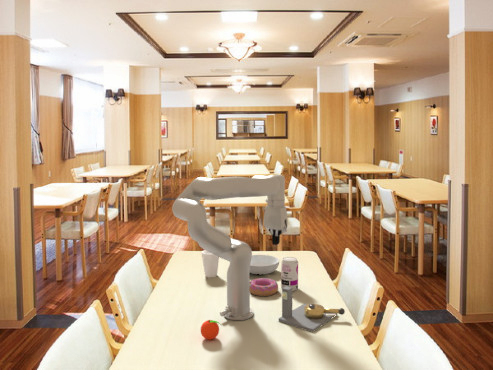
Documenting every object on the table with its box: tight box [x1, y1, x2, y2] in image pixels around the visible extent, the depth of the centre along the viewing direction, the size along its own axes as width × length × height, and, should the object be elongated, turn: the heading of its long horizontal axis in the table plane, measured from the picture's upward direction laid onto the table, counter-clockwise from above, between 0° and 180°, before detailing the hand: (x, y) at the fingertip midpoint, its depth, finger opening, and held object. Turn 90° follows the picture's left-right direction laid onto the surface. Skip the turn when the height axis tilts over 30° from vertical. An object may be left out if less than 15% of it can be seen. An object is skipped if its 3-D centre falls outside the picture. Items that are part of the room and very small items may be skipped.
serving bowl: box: [250, 254, 280, 276], centre depth 244 cm, size 21×21×7 cm
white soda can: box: [280, 256, 299, 292], centre depth 218 cm, size 8×8×15 cm
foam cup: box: [201, 249, 220, 278], centre depth 238 cm, size 10×9×13 cm
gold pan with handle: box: [304, 303, 346, 319], centre depth 184 cm, size 16×8×4 cm, turn 84°
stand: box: [278, 286, 338, 332], centre depth 183 cm, size 20×17×13 cm
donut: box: [250, 277, 279, 297], centre depth 215 cm, size 14×14×5 cm
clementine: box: [200, 319, 222, 341], centre depth 166 cm, size 8×7×7 cm
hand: (275, 244), depth 197 cm, fingers closed
